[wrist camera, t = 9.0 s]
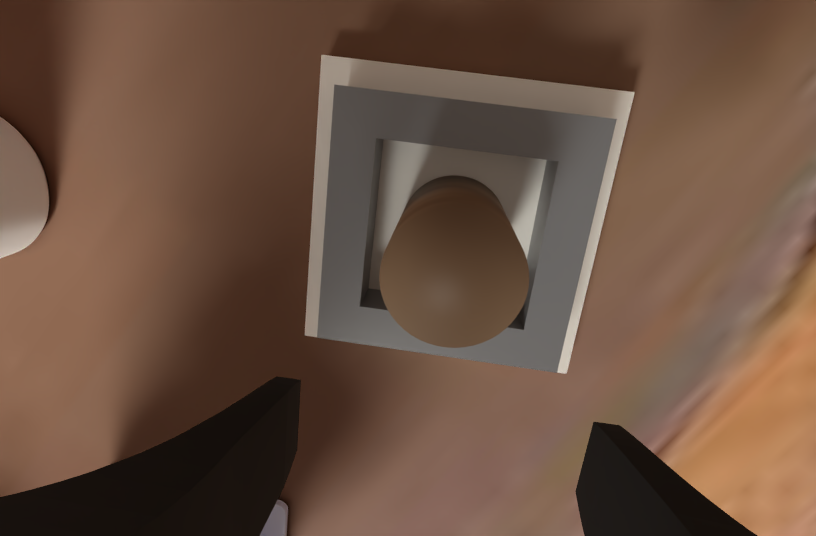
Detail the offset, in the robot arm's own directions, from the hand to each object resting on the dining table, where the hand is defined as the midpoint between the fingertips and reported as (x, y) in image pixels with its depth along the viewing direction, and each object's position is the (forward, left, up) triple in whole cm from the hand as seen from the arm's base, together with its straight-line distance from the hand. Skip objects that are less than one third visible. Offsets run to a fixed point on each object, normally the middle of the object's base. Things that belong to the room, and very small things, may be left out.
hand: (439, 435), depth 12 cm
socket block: (0, +3, -9) cm, 10 cm away
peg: (0, +3, -8) cm, 9 cm away
